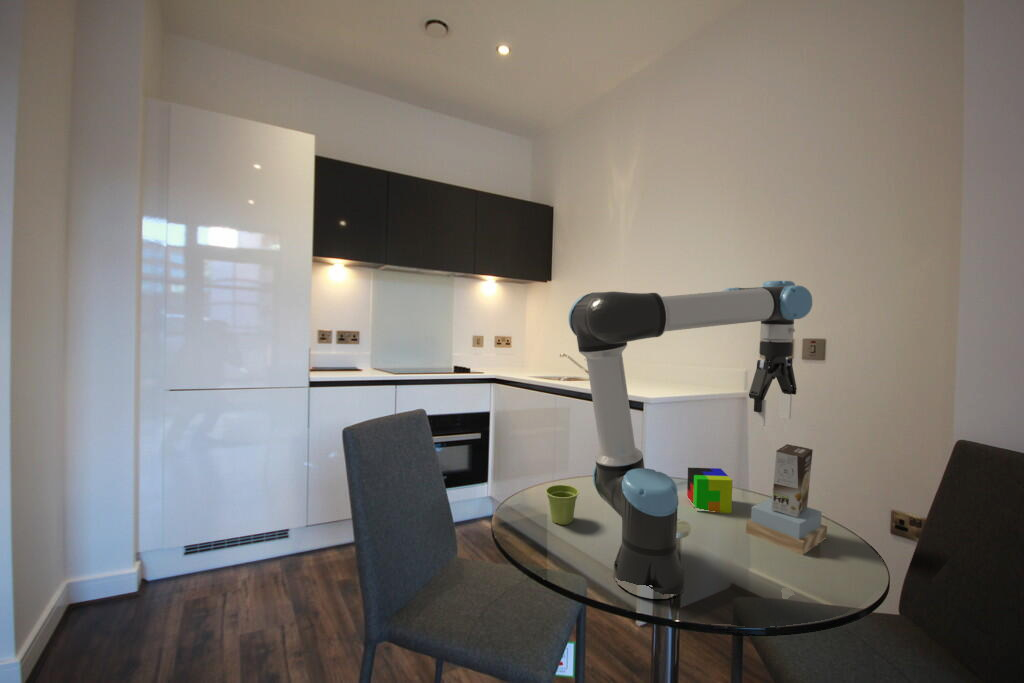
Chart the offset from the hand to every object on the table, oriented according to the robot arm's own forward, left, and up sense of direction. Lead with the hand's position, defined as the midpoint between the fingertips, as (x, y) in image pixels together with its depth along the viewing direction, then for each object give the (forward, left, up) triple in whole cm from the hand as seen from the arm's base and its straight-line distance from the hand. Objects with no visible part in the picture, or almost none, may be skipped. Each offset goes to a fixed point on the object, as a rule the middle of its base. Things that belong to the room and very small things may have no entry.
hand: (772, 421), depth 123 cm
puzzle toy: (+4, +19, -31) cm, 37 cm away
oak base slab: (+3, -3, -31) cm, 32 cm away
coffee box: (+3, -4, -23) cm, 24 cm away
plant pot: (-39, +38, -31) cm, 63 cm away
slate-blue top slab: (+2, -3, -27) cm, 28 cm away
